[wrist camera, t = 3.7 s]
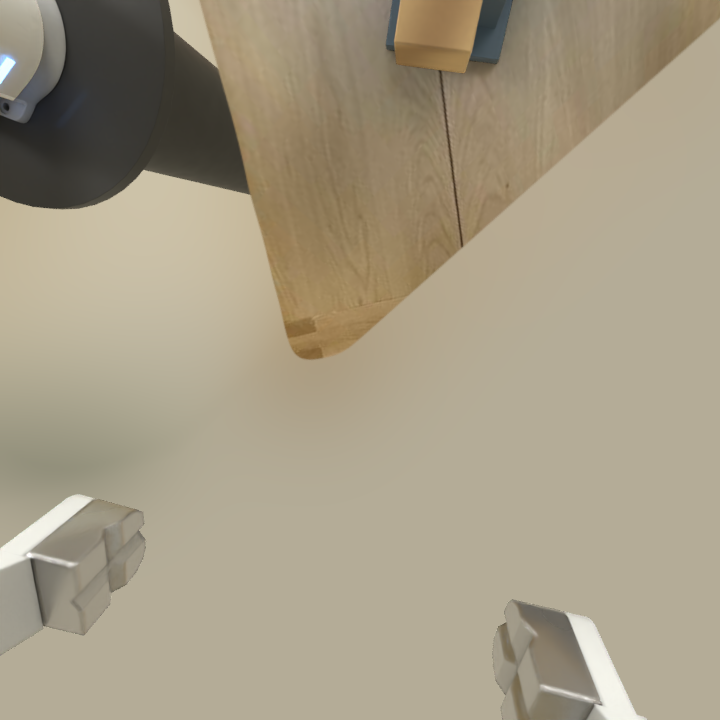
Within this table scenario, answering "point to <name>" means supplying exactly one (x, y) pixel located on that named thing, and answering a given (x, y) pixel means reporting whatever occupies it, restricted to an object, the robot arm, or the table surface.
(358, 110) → the table surface
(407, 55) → the mallet
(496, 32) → the pedestal stand
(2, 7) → the robot arm
